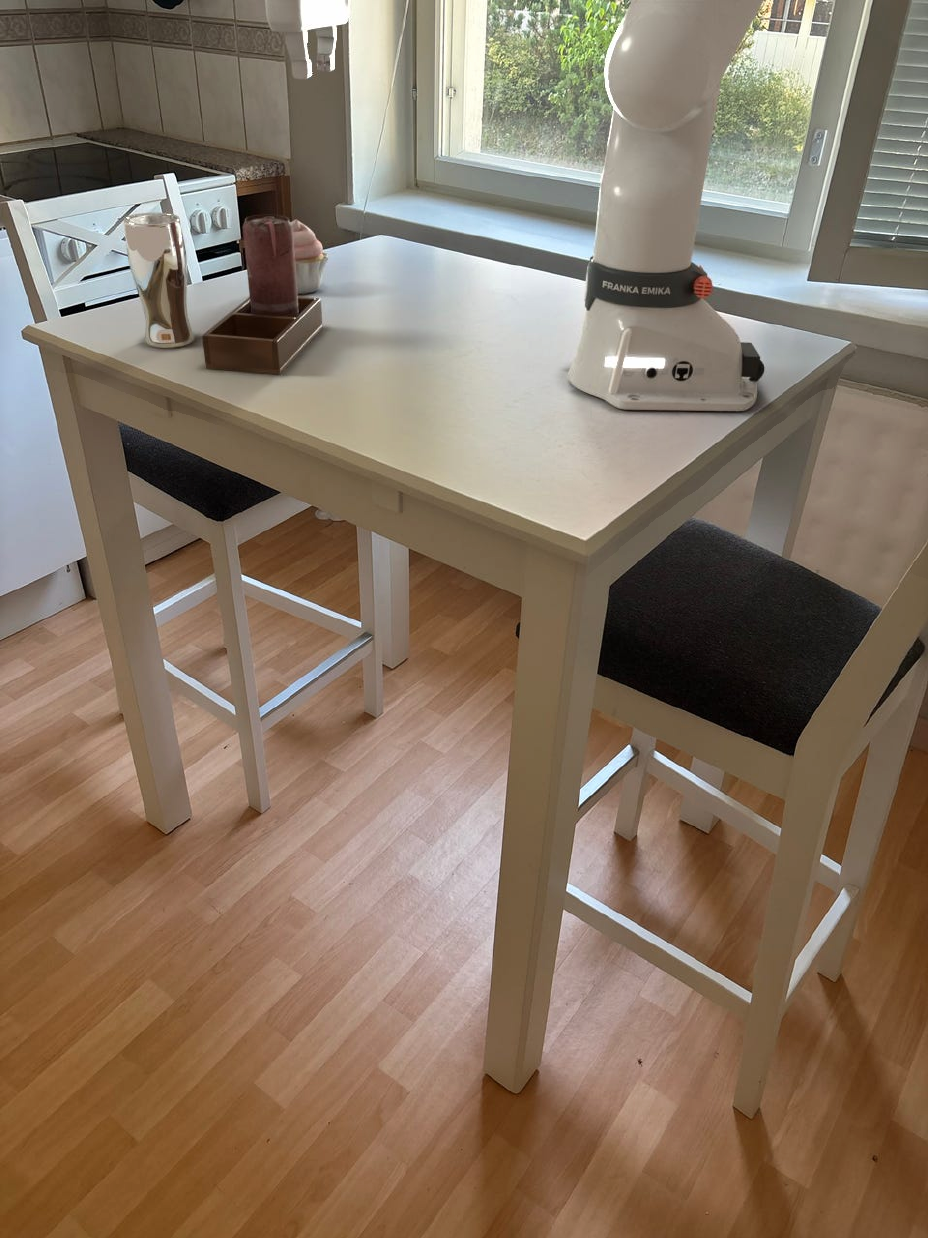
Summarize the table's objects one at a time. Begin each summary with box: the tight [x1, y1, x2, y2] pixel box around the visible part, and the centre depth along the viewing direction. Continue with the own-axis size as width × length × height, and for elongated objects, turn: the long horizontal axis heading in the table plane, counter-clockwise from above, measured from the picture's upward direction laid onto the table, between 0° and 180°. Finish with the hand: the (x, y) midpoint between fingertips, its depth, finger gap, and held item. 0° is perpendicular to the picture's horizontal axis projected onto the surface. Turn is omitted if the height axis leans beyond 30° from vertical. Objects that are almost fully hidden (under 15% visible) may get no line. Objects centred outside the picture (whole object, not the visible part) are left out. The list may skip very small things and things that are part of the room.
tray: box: [201, 296, 324, 376], centre depth 121 cm, size 9×18×4 cm, turn 171°
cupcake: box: [290, 219, 329, 295], centre depth 142 cm, size 9×9×10 cm
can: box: [242, 213, 299, 318], centre depth 122 cm, size 6×6×14 cm
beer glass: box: [122, 212, 195, 349], centre depth 119 cm, size 7×7×15 cm
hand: (314, 74), depth 110 cm, fingers open, 8 cm apart
